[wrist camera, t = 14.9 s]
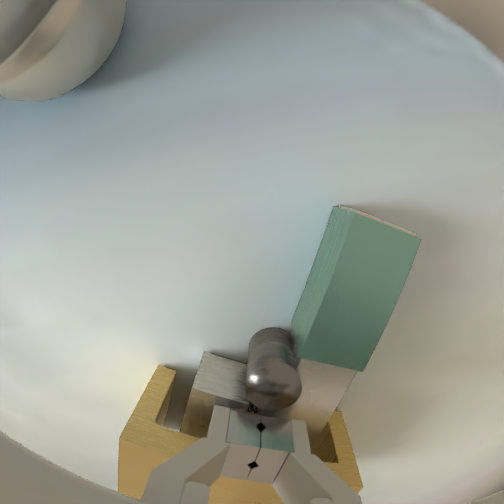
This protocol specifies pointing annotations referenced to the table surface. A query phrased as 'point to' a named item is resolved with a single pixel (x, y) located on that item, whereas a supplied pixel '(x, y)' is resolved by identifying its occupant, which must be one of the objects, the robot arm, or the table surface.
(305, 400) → the green-tipped wooden stick
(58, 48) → the plastic bottle
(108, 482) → the table surface
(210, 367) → the tong arm
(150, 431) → the lock collar
